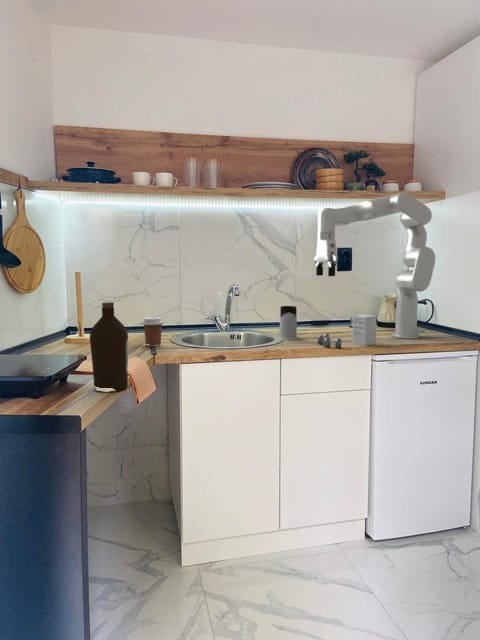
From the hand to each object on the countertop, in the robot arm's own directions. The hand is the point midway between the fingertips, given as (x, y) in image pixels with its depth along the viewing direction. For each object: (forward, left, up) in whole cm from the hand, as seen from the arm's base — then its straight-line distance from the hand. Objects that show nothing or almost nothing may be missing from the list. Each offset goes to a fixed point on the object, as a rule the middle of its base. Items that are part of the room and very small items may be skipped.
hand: (325, 275), depth 208 cm
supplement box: (-14, +11, -30) cm, 35 cm away
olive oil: (+91, +58, -30) cm, 112 cm away
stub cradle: (+3, +11, -30) cm, 31 cm away
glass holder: (+13, -13, -30) cm, 35 cm away
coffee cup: (+76, -8, -30) cm, 82 cm away
